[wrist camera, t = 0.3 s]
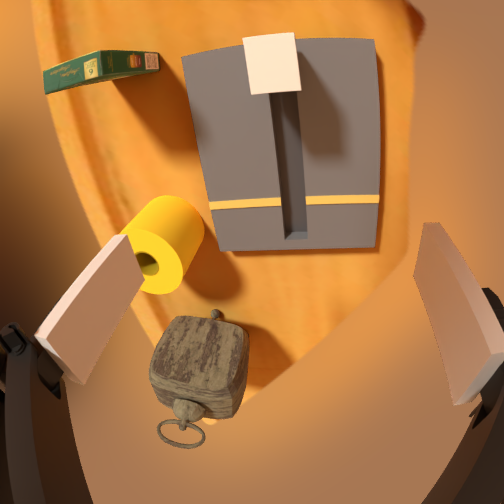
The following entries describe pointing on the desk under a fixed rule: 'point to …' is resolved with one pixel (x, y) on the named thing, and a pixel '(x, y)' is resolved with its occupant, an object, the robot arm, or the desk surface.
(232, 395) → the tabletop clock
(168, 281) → the yellow toilet paper roll
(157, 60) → the coffee box
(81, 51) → the desk surface
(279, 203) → the fader console
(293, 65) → the fader knob
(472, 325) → the robot arm
